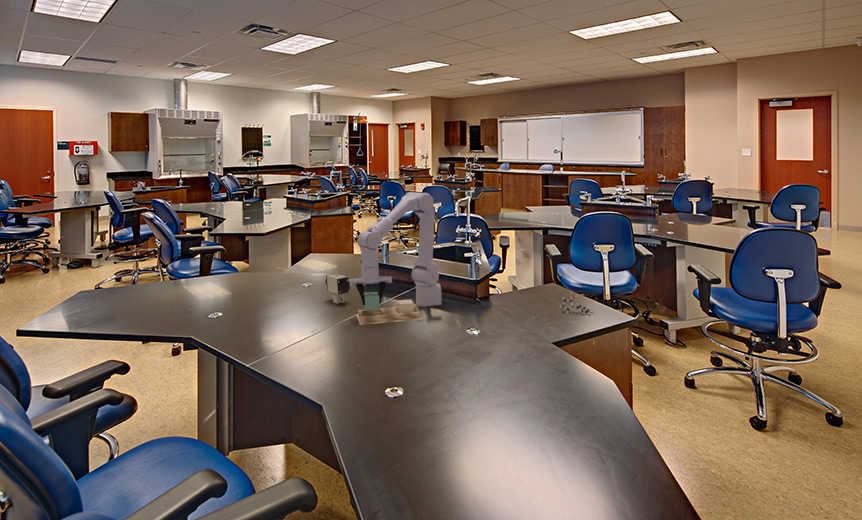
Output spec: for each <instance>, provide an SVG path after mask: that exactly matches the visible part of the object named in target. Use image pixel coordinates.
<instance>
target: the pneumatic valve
mask: <svg viewBox="0 0 862 520" xmlns="http://www.w3.org/2000/svg"><path fill="white" fill-rule="evenodd" d="M325 276H326V277H325V281H324V283H325V285H326V291H327V292H331V293H332V296H331V297H332V303H333V304H337V305H339V304H342V303H343V304H344V303H345V295H344V294H348V293H349V291H350V290H351V286H350V282H349V277H348V276H346V275H343V274H342V275H341V274H339V273H333V274H328V275H325Z"/></svg>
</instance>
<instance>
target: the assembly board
mask: <svg viewBox="0 0 862 520" xmlns="http://www.w3.org/2000/svg"><path fill="white" fill-rule="evenodd" d="M357 313H358V314H356V317H357V320H358V324H359V326H367V325H376V324H386V323H395V322H396V323H397V322H406V321H407V322H408V321H418V320H424V318H423V316H422V312H421V311H420V309H419V308H418V307H417V304H416V305H415V304H414V312H410V313H399V314H398V306H394V307H392V306H391V307H381V308H380V309H379V310H367V311H365V309H358V312H357Z"/></svg>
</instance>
